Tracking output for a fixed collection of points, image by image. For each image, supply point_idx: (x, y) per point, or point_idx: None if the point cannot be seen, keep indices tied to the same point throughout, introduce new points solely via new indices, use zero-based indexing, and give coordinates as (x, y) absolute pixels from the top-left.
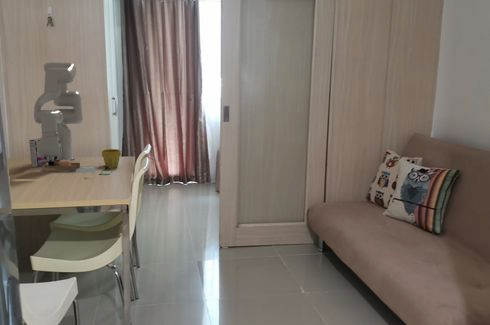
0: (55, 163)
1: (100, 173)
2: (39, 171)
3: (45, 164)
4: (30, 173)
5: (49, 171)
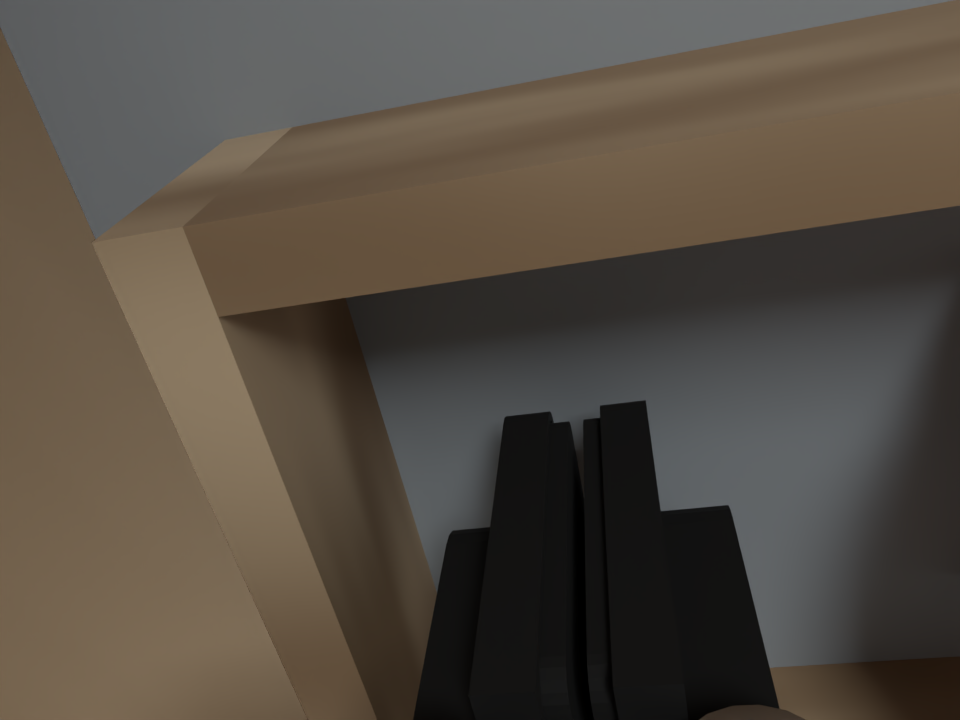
0: (640, 237)
1: None
2: None
3: (299, 654)
4: (52, 606)
5: None
